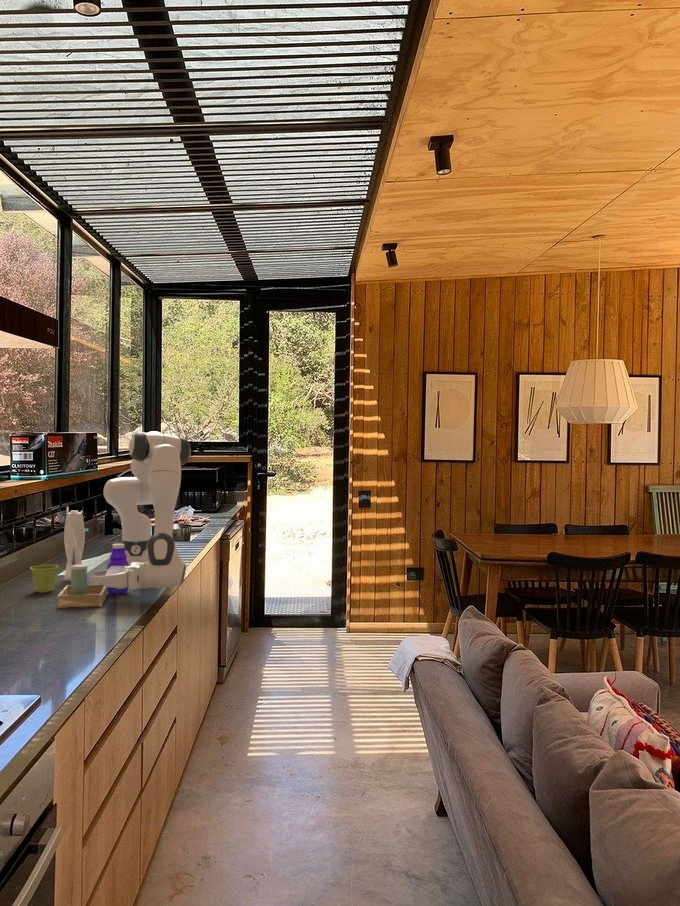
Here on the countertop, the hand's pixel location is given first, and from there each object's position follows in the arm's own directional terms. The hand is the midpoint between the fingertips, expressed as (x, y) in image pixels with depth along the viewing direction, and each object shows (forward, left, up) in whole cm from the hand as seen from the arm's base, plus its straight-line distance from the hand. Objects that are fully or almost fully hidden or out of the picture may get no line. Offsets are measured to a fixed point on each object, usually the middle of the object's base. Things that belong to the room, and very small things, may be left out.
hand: (92, 576), depth 257 cm
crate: (-4, -3, -9) cm, 10 cm away
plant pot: (-24, -19, -9) cm, 32 cm away
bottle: (-16, +7, -9) cm, 20 cm away
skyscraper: (-45, -12, -9) cm, 48 cm away
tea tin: (0, -4, -9) cm, 10 cm away
